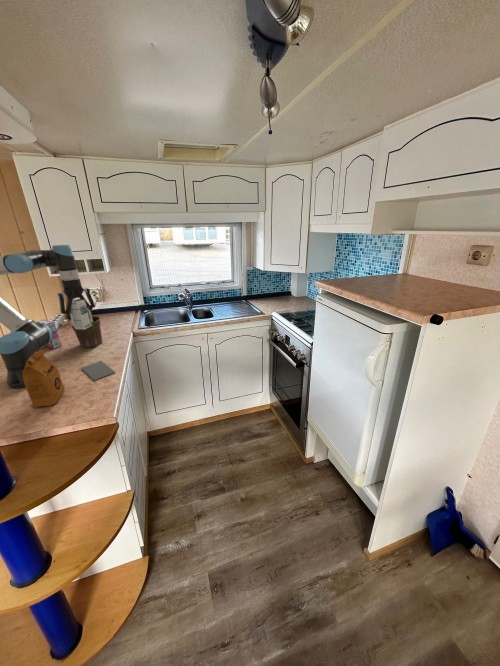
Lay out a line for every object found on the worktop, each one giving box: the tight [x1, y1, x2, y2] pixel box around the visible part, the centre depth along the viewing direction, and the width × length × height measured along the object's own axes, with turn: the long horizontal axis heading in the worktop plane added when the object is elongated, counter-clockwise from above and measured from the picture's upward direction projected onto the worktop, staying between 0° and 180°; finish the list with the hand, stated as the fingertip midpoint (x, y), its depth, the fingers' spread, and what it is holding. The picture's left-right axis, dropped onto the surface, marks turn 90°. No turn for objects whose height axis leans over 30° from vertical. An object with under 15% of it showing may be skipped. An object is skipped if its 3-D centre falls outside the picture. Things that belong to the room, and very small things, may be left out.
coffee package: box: [23, 348, 66, 409], centre depth 112 cm, size 10×12×22 cm
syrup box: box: [70, 298, 92, 330], centre depth 135 cm, size 6×6×14 cm
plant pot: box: [69, 315, 104, 349], centre depth 165 cm, size 16×16×16 cm
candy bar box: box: [35, 319, 62, 350], centre depth 164 cm, size 11×5×16 cm, turn 62°
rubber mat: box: [81, 360, 116, 382], centre depth 138 cm, size 10×18×1 cm, turn 48°
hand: (82, 323), depth 137 cm, fingers closed on syrup box, 8 cm apart
